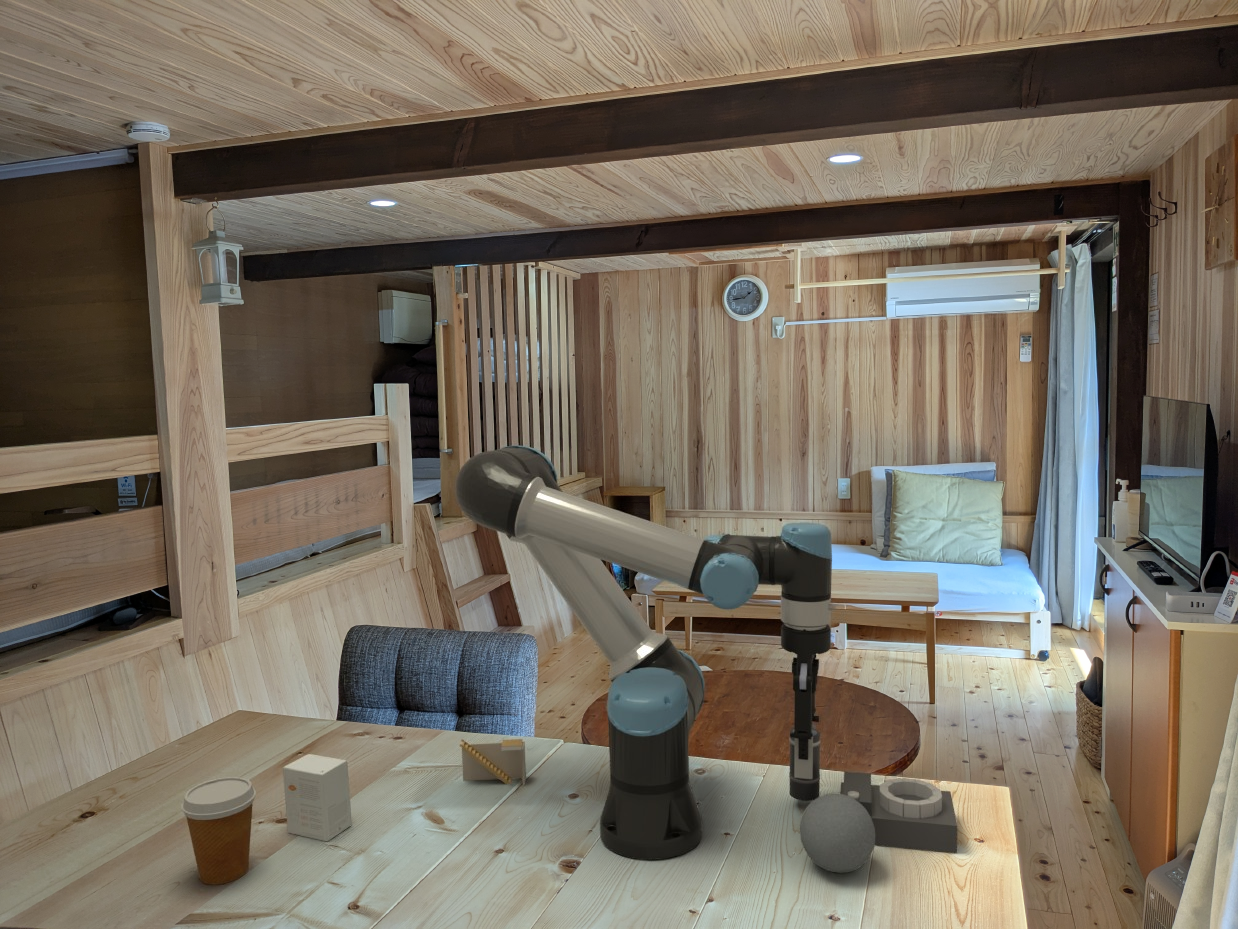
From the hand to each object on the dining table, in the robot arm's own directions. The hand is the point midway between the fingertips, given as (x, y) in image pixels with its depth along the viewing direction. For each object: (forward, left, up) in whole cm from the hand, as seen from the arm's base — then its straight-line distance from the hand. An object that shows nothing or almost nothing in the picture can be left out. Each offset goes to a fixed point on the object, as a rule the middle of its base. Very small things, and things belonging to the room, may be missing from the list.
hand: (804, 769), depth 142 cm
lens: (0, 0, -4) cm, 4 cm away
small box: (-71, -23, -6) cm, 75 cm away
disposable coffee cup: (-77, -37, -6) cm, 86 cm away
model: (-52, -2, -6) cm, 52 cm away
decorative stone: (+6, -18, -6) cm, 19 cm away
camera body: (+14, -5, -6) cm, 16 cm away
